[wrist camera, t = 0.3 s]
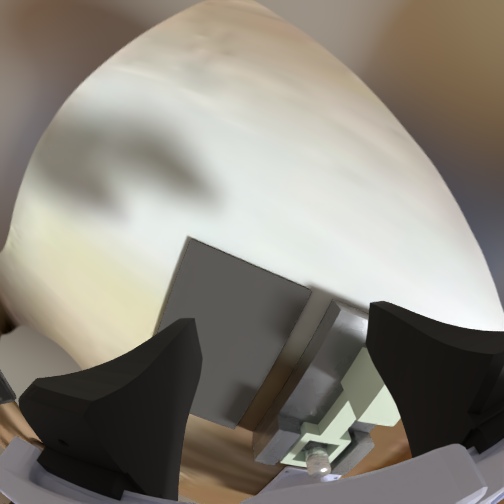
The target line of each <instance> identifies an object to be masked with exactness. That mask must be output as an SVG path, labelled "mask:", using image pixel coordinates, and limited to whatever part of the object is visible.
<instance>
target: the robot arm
mask: <svg viewBox="0 0 504 504" xmlns="http://www.w3.org/2000/svg"><path fill="white" fill-rule="evenodd" d="M365 344H366V347H367V350H368V353H369V355H370V358H371V360H372V362H373V364H374V366H375V368H376V370H377V371H378V373H379V375H380V377H381V378H382V380H383V382H384V384H385V385H386V387H387V389H388V391H389V393H390V394H391V396H392V398H393V400H394V402H395V404H396V406H397V409H398V412H399V414H400V417H401V420H402V422H403V425H404V428H405V432H406V435H407V438H408V442H409V446H410V450H411V454H412V459H410V460H407V461H404V462H401V463H398V464H395V465H392V466H389V467H386V468H382V469H379V470H376V471H372V472H368V473H364V474H361V475H356V476H352V477H348V478H343V479H339V478H340V477H341V476H342V475H334V474H328V475H327V476H324V477H321V478H311V477H309V476H308V472H307V468H301V467H294V466H286V467H285V468H284V469H283V470H282V471H281V472H280V473H279V474H278V475H277V476H276V477H275V478H274V479H273V480H272V481H271V482H270V483H269V484H268V485H267V486H266V487H265V488H263V489H262V490H261V491H260V492H259V493H258V494H257V495H256V496H253V497H250V498H247V499H245V500H244V501H242V502H240V503H239V504H496V503H498V502H499V501H500V500H502V499H503V498H504V331H482V330H475V329H468V328H462V327H458V326H454V325H450V324H446V323H442V322H439V321H436V320H433V319H430V318H428V317H425V316H422V315H420V314H417V313H415V312H412V311H410V310H407V309H405V308H402V307H400V306H397V305H394V304H392V303H389V302H385V301H379V302H372V303H370V308H369V318H368V327H367V335H366V343H365ZM202 361H203V357H202V352H201V347H200V343H199V338H198V333H197V328H196V322H195V318H180V319H178V320H176V321H175V322H173V323H172V324H170V325H169V326H167V327H166V328H165V329H163V330H162V331H160V332H159V333H158V334H156V335H155V336H153V337H152V338H150V339H149V340H147V341H146V342H144V343H142V344H141V345H139V346H138V347H136V348H134V349H133V350H131V351H129V352H127V353H126V354H124V355H122V356H120V357H117V358H115V359H113V360H111V361H109V362H106V363H103V364H101V365H98V366H95V367H92V368H90V369H86V370H83V371H79V372H75V373H71V374H66V375H61V376H53V377H45V378H37V379H36V380H35V381H34V382H33V383H32V384H31V385H30V386H29V387H28V388H27V389H26V390H25V391H24V393H23V394H22V395H21V396H20V398H19V407H20V410H21V412H22V415H23V416H24V418H25V419H26V421H27V423H28V424H29V425H30V427H31V428H32V429H33V431H34V432H35V433H36V435H37V436H38V437H39V439H40V440H41V441H42V442H43V444H44V445H45V448H44V449H43V451H42V452H41V451H40V450H39V449H38V448H37V447H35V446H34V445H32V444H30V443H28V442H26V441H24V440H23V439H21V438H19V437H17V436H15V437H14V438H13V439H12V441H11V442H10V444H9V445H8V446H7V448H6V449H5V451H4V452H3V453H2V455H1V456H0V491H1V492H2V493H3V494H4V495H5V496H6V497H8V498H9V499H10V500H11V501H12V502H14V503H15V504H194V503H186V502H179V501H178V485H179V473H180V462H181V454H182V446H183V440H184V433H185V427H186V423H187V419H188V416H189V412H190V409H191V406H192V403H193V400H194V396H195V393H196V390H197V386H198V383H199V380H200V375H201V369H202ZM337 479H338V480H337Z"/></svg>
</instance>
